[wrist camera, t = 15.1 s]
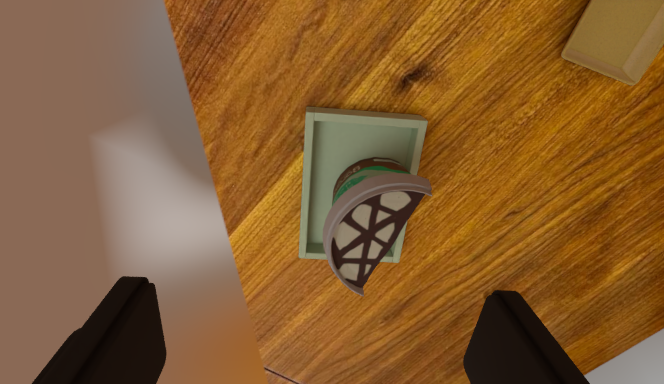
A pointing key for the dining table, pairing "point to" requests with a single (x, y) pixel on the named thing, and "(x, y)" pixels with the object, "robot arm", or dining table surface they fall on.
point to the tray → (350, 162)
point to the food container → (368, 216)
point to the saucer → (617, 38)
